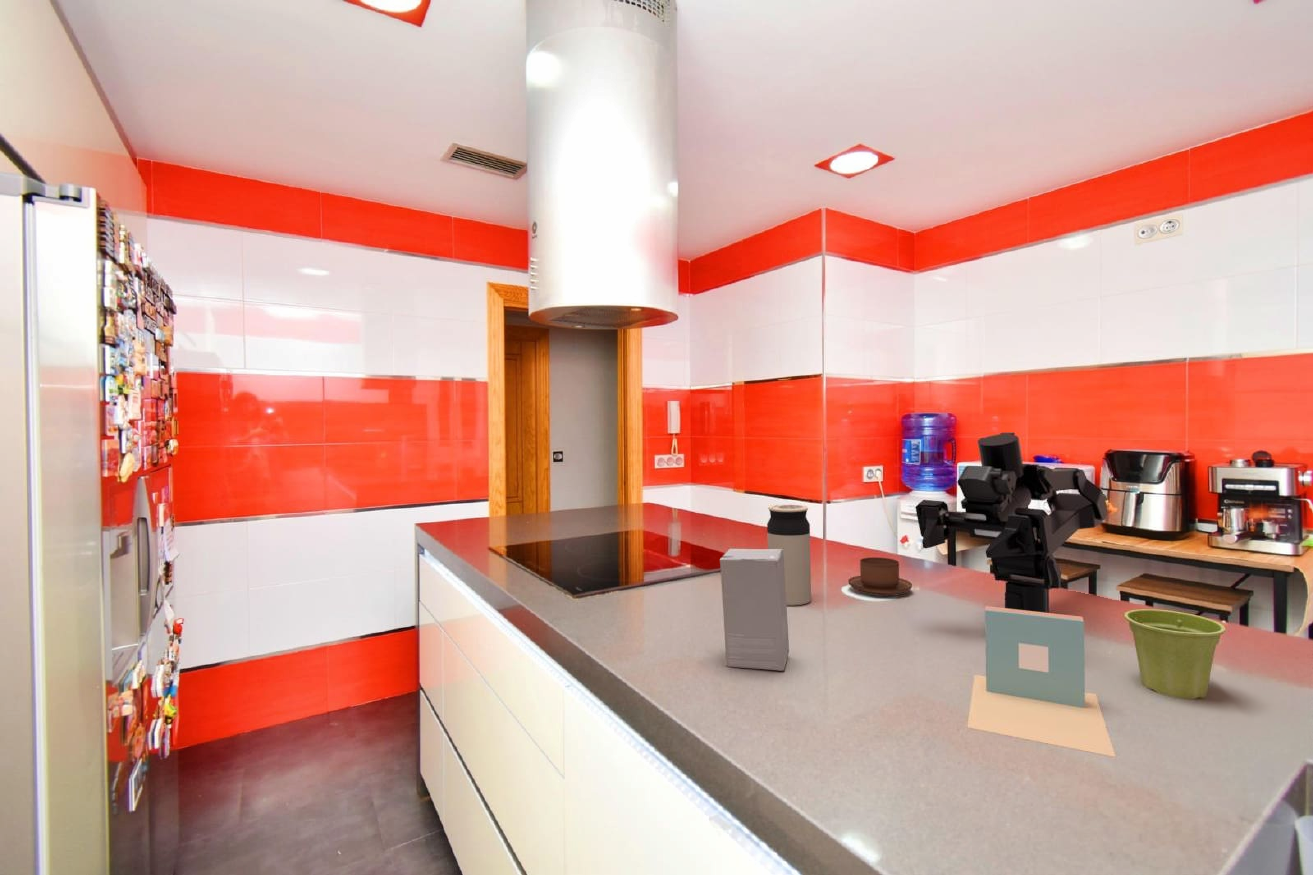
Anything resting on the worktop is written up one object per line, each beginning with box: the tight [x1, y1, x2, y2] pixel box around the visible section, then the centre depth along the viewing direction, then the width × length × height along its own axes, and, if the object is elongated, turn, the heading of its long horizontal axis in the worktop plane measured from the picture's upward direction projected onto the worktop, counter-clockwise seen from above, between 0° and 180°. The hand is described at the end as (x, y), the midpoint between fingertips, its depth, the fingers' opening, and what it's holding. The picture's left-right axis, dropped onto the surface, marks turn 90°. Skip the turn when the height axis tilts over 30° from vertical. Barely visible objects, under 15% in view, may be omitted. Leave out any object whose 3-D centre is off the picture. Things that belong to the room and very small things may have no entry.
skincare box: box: [719, 548, 790, 671], centre depth 87 cm, size 8×7×16 cm
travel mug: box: [766, 504, 812, 607], centre depth 118 cm, size 8×8×18 cm
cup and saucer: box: [848, 556, 913, 596], centre depth 123 cm, size 12×12×6 cm
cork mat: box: [966, 674, 1116, 758], centre depth 70 cm, size 16×13×1 cm
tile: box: [984, 605, 1086, 708], centre depth 74 cm, size 2×10×10 cm, turn 60°
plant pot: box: [1124, 608, 1226, 700], centre depth 75 cm, size 9×9×9 cm
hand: (954, 549), depth 88 cm, fingers open, 9 cm apart
